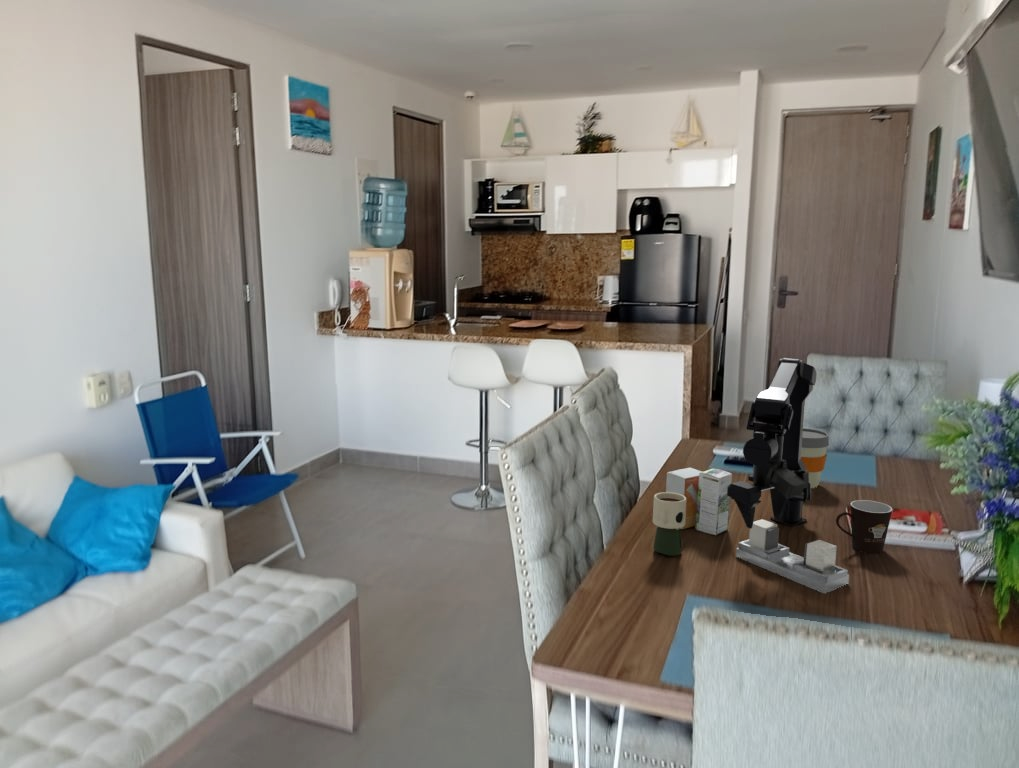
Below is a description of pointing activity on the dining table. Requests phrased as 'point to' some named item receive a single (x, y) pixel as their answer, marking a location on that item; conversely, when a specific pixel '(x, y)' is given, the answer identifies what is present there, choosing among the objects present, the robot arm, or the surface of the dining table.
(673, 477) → the small box
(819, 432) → the reusable coffee cup
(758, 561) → the rail
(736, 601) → the dining table surface
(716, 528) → the syrup box
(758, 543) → the light grey upright block
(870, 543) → the coffee mug
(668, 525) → the character mug
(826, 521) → the dining table surface
